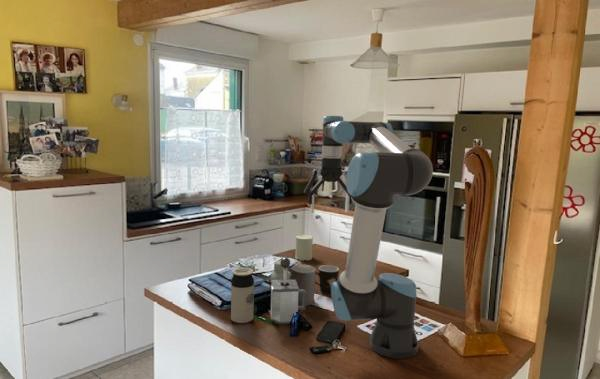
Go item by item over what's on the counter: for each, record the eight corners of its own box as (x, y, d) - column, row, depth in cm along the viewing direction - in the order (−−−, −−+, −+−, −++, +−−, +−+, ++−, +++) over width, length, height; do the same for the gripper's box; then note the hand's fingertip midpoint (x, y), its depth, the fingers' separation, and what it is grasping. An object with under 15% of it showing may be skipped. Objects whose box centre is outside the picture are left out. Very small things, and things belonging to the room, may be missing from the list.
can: (304, 254, 234) (305, 232, 232) (315, 258, 227) (316, 236, 225) (291, 257, 228) (292, 235, 226) (302, 261, 221) (303, 239, 219)
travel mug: (226, 317, 155) (227, 269, 152) (245, 312, 160) (246, 265, 157) (238, 325, 149) (239, 276, 146) (257, 319, 154) (258, 271, 151)
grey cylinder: (285, 302, 169) (287, 266, 167) (296, 294, 178) (297, 259, 175) (308, 308, 165) (310, 271, 163) (318, 299, 174) (319, 263, 171)
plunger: (295, 309, 152) (296, 260, 149) (275, 310, 151) (276, 261, 148) (292, 301, 159) (294, 254, 156) (273, 302, 158) (274, 255, 155)
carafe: (306, 324, 152) (307, 288, 150) (271, 325, 150) (272, 289, 148) (302, 311, 161) (303, 278, 159) (269, 313, 160) (269, 279, 158)
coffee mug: (338, 287, 186) (339, 265, 185) (337, 295, 178) (339, 272, 176) (311, 286, 188) (312, 264, 186) (310, 293, 179) (310, 270, 178)
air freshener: (289, 289, 183) (289, 266, 182) (269, 288, 184) (270, 266, 182) (290, 280, 194) (290, 258, 193) (272, 279, 194) (272, 258, 193)
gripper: (361, 157, 167) (358, 210, 170) (297, 155, 163) (296, 210, 166) (366, 158, 159) (363, 214, 162) (300, 157, 156) (298, 214, 159)
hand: (329, 212), depth 164 cm, fingers open, 13 cm apart
